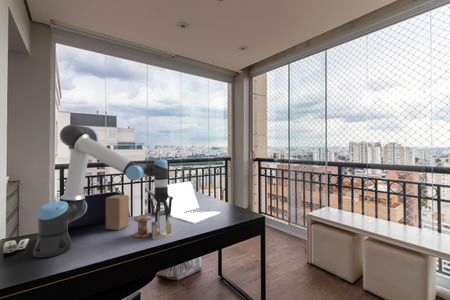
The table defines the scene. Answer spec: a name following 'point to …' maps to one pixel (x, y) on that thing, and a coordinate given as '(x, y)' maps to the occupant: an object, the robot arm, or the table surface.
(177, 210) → the laptop
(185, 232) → the table surface
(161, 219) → the tab
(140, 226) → the spool
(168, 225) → the tan base with posts
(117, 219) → the wooden block
